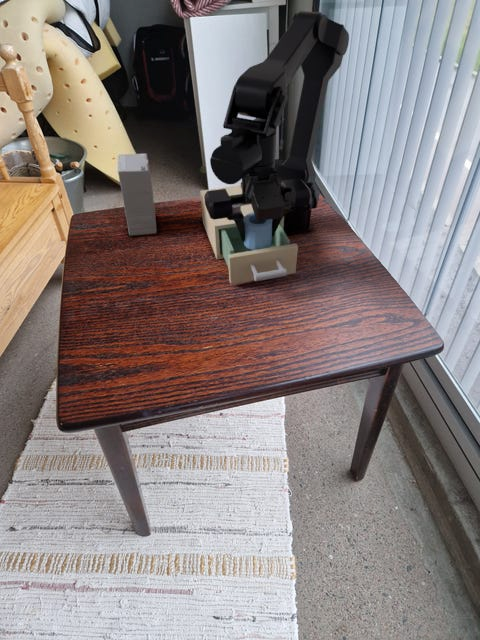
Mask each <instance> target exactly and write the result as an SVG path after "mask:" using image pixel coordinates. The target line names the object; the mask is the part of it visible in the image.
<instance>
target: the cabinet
mask: <svg viewBox="0 0 480 640" xmlns="http://www.w3.org/2000/svg"><path fill="white" fill-rule="evenodd" d="M220 189H226V191H227V193H228V195H229V196H231V195H238V194H242V189H241V184H240V185H233V186H226V187H218V188H217V187H216V188H211V189H203V190H200V191H199V196H200V206H201V218H202V224H203V227H204V229H205V232H206V235H207V237H208V240H209V243H210V245H211V249H212V250H213V254H214V256H215V259H216V260H222V259H224V256H223V254H222V251H221V249H220V243H219V229H223V228H229V227H236V223H235V222H234V220H228V219H227V218H222V219H215V220H214V219H211V218H210V216H209V213H208V211H207V208H206V206H205V198H204V196H205V194H206V192H207V191H212V190H220ZM241 212H242V214H243V216H244V217H245V216H246V215H247V214H249V213H253V212H254V211H253V208H252V205H251V204H249V205H242V206H241ZM280 226H281V227H282V229H283V226H284V216H283V218H282V220H281V222H280Z"/></svg>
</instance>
